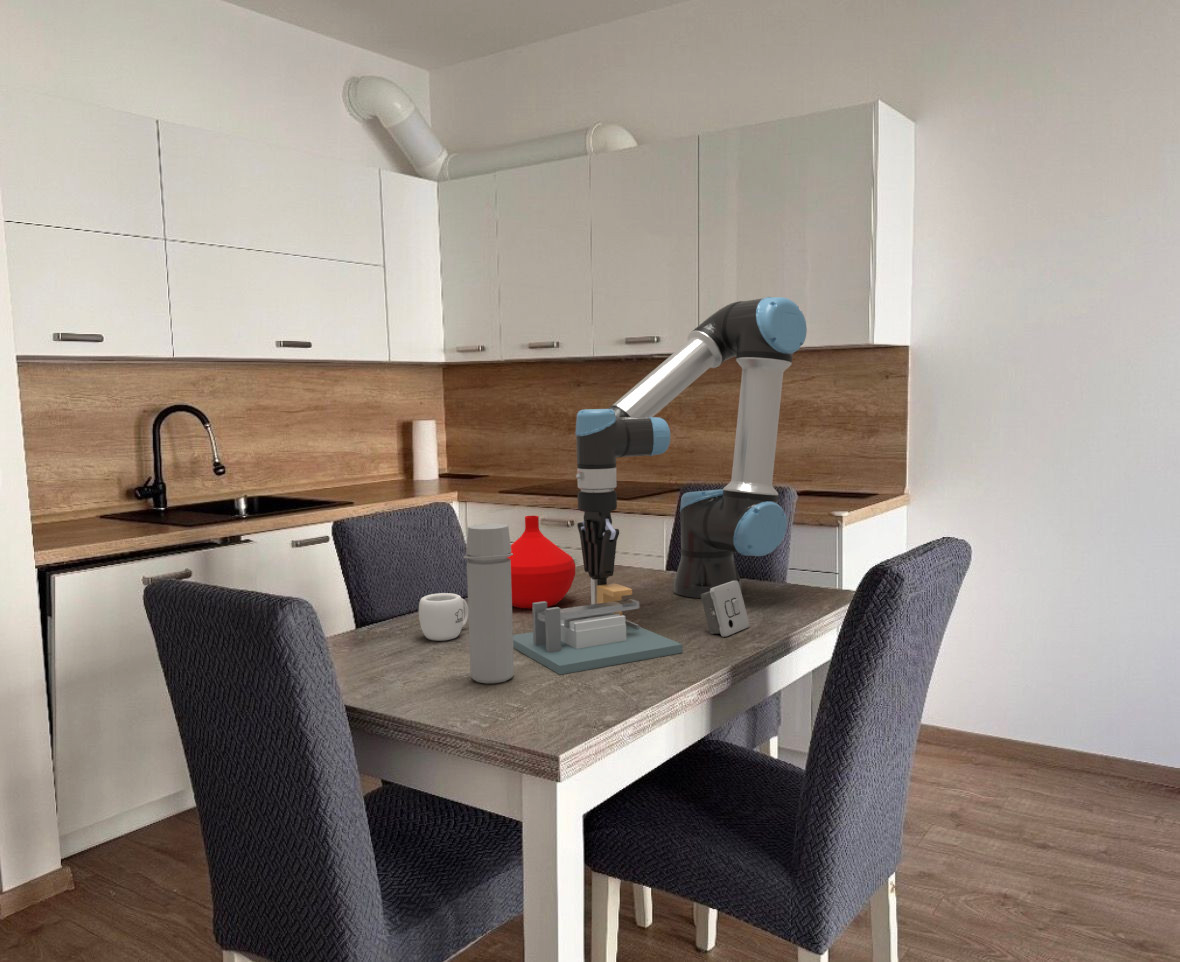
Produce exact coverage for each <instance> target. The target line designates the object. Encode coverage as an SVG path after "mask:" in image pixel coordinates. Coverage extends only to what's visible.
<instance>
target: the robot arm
mask: <svg viewBox="0 0 1180 962" xmlns="http://www.w3.org/2000/svg"><path fill="white" fill-rule="evenodd" d="M807 330H808V329H807V321H806V318H805V316H804V314H803V311H802V310H800V307H799V305H797V303H796V302H794V301H793V300H791V299H790V298H787V297H782V296H781V297H780V296H777V297H776V296H775V297H774V296H773V297H772V296H767V297H764V298H757V299H752V300H751V299H750V300H742V301H741V300H740V301H735V302H732V303H729V304H727V305H726V306H723V307H721V308H720V309H719V310H717V311H716V312H714V313H713V314H711V315H710V316H709V317H708V318H706V319H705V320H704V321H702V323H700V324H698V326H697V327H695V328H694V329H693V330H692V331H691V332H690V333H689V334H688V336H687V341H686V342H685V343H684V344H683V345H681V346H680V347H679V348H678V349H677V350H675V351H674V352H673V353H672V354H671V355H670V356H668V357H667V358H666V359H665V360H664V361H662V363H660V364H659V365H658V366H657V367H656V368H654V369H653V370H652V371H650V373H648V374H647V375H646V376H645V377H643V378H642V380H640V381H639V382H638V383H637V384H635V385H634V386H633V387H631V388H630V390H628V391H627V392H626V393H625V394H624V395H623V396H621V397H620V398H619V399H618V400H617V401H615V402H614V403H613V404H612V405H610V407H608V408H597V409H596V408H595V409H594V408H593V409H591V408H590V409H587V408H585V409H581V410H579V411H578V412H577V413H576V422H575V439H576V440H575V441H576V443H575V444H576V469H577V470H576V474H575V477H576V481H577V488H578V489H579V491H578V492H577V509H578V510H579V511H580V512H583V521H581V522H577V524H576V527H577V531H578V534H579V537H580V545H581V553H582V555H581V556H582V562H583V569H584V572H585V573H588V576H589V577H590V602H591V603H590V605H592V604H597V586H599V585H606V584H607V583H608V582H607V581H608V580H607V579H608V578H609V577H613V576H614V571H615V570H614V569H615V561H616V560H615V559H616V552H617V542H618V539H619V538H618V537H619V536H620V530H619V528H614V527H613V520H612V515H611V512H613V511H615V510H617V507H618V498H617V493H618V492H617V491H616V490H615V489H616V488H617V483H618V482H617V458H625V457H626V458H627V457H645V456H647V457H648V456H649V457H652V456H657V455H662V454H664V453H665V452H666V451H667V450H668V449H669V447H670V444H671V430H670V426H669V425H668V422H667V421H666V420H665V419H664V418H662V417H660V416H659V417H656V415H657V414H658V413H659V412H660V411H662V410H663V409H664V408H665V407H666V406H667V405H668V404H669V403H670V402H672V401H673V400H674V399H675V398H677V397H678V396H679V395H680V394H681V393H682V392H684V390H685V389H687V388H688V387H689V386H691V384H693V382H695V381H696V380H697V379H698V378H699V377H701V376H702V375H703V374H704V373H705V372H706V371H707V370H709V369H711V368H712V369H714V368H718V367H719V366H721V364H723V363H724V362H726V361H728V360H729V359H731V358H735V361H736V363H738V365H739V366H740V367H741V380H740V388H739V389H740V390H739V398H738V410H737V420H736V431H735V439H734V440H735V441H734V450H733V461H732V469H731V470H732V471H731V480H730V482H729V483H728V484H727V485H725V486H724V487H723V488H721V489H711V490H699V491H689V492H688V491H687V492H685V493H683V495H682V496H681V498H680V508H679V512H680V515H679V516H680V552H681V553H680V555H681V556H680V561H679V564H678V568H677V571H676V573H675V578H674V581H673V592H674V593H675V594H676V595H679V596H681V597H682V596H683V597H686V598H687V597H688V598H694V599H695V598H697V599H701V596H700V594H703V593H706V592H709V591H710V589H711V588H713V587H716V586H719V585H722V584H725V583H728V582H731V581H738V582H739V585H740V589H741V590H742V581H741V578H740V574H739V571H738V569H737V565H736V563H735V559H734V558H735V557H734V553H738V554H740V555H742V556H745V557H746V556H754V557H763V556H767V555H768V554H771V553H772V552H774V551H775V549H777V548H778V547H779V546H780V545H781V543H782V542H783V540H784V538H785V536H786V533H787V527H788V520H787V519H788V518H787V514H786V513H784V512H785V511H784V509H783V507H782V506H780V505H779V504H778V503H779V502H778V501H779V492H777V490H776V489H775V488H774V485H773V481H774V480H773V478H774V470H775V459H776V449H777V440H778V428H779V419H780V410H781V409H780V408H781V399H782V389H783V377H784V373H785V371H786V370H787V369H789V367H791V366H792V363H793V354H794V353H796V352H797V351H799V350H800V348H801V346H803V345H804V343H805V342H806V338H807Z"/></svg>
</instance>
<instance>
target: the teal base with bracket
mask: <svg viewBox="0 0 1180 962" xmlns="http://www.w3.org/2000/svg"><path fill="white" fill-rule="evenodd" d="M532 607H533V609H532V631H531V632H525V633H524V632H523V633H517V634H513V649H515V650H517V651H518V652H520V653H522V655H523V654H524V655H525V656H527V657H528V658H530V659H532V660H533V661H536V662H537V663H539V664H540V665H543V667H545V668H548V669H550V670H551V671H553V672H554V673H556V674H558V675H566V674H571V673H577V672H582V671H588V670H594V669H600V668H604V667H610V666H616V665H620V664H627V663H634V662H639V661H643V660H650V659H655V658H660V657H666V656H671V655H677V654H678V655H679V654H682V653H683V644H682V643H680V642H677V641H675V640H673V639H670V638H669V637H665V636H664V635H661V634H659V633H656V632H653V631H651V630H648V629H646V628H643V627H641V626H640V624H637V623H635V622H633V621H630V620H629V619H626V615H623V614H622V616H620V614H619V613H616V614H614V612H612V613H606V614H599V615H592V616H586V617H579V618H573V619H566V620H560V609H561V608H560V607H558V606H556V607H547V602H545V601H543V602H536V603H532ZM544 611H545V622H543V621H541V620H538V614H537V612H544Z"/></svg>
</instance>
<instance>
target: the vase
mask: <svg viewBox="0 0 1180 962" xmlns="http://www.w3.org/2000/svg"><path fill="white" fill-rule="evenodd" d="M539 519H540V518H539V515H525V516H524V531H523V533H522V534H521V535H520V537H518V538H517V539H516V540H515V541H514V542H512V543H511V553H513V555H511V556H510V557H507V558H509V559H511V590H512V607H515V608H518V609H519V608H520V609H526V608H527V609H526V610H528V609H529V610H530V609H532V610H533V607H532V603H536V602H543V601H545V602H547V608H550V607H551V606H552V607H553V606H555V605H557V604H558V603H559V602H561V601H562V600H563V599H564V598H565V596H566V594H568V592H569V591H570V589H571V587H572V585H573V582H574V580H575V577H576V563H575V561H574V558H573V557H572V556H571V555H570V554H569V553H567V552H566V551H565V550H563V549H562V548H561V547H559V546H558V545H556V544H555V543H554V542H552V540H550V539H549V538H547V536H545V535H544V534H543V533H542V531H541V530H540V526H539V525H540V523H539V522H540V521H539Z"/></svg>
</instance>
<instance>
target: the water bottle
mask: <svg viewBox="0 0 1180 962" xmlns="http://www.w3.org/2000/svg"><path fill="white" fill-rule="evenodd" d="M466 539H467V540H466V541H467V542H466V555H464V556H463V559H466V560H467V561H466V579H467V580H466V581H467V582H466V583H467V605H468V634H469V635H468V637H469V638H468V639H469V640H468V641H469V642H468V643H469V666H470V667H469V668H470V669H469V670H470V678H472V680H474V681H475V682H477V683H480V684H486V685H487V684H500V683H505V682H506V681H509V680H511V679H512V678H513V676H514V674H515V673H514V672H515V667H514V666H515V662H514V661H515V660H514V659H515V658H514V657H515V656H514V648H513V635H514V632H513V631H514V626H513V606H512V590H511V559H509V558H507V557H510V556H511V555H513V553H511V545H512V543H511V538H510V529H509V524H505V523H498V522H487V523H478V524H477V523H475V524H471V525H469V526H468V527H467V538H466Z"/></svg>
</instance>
